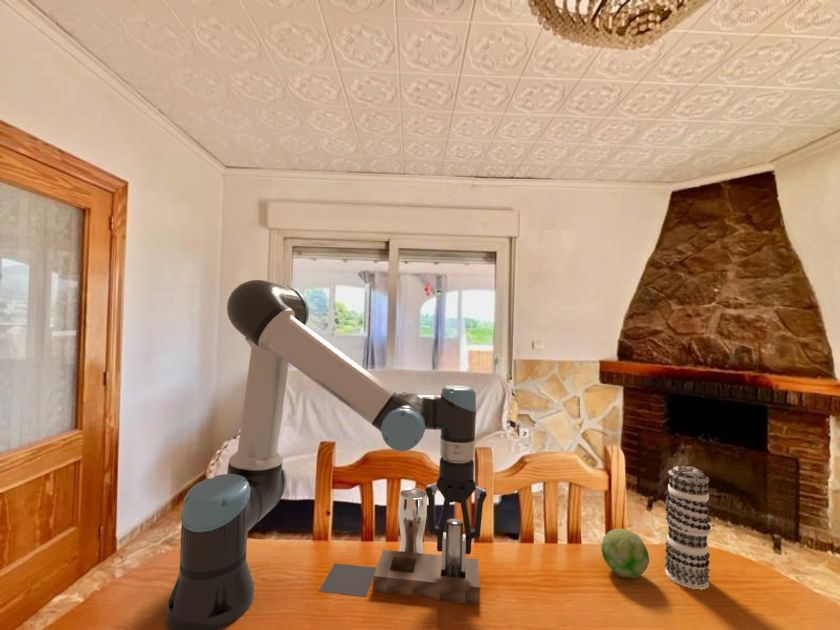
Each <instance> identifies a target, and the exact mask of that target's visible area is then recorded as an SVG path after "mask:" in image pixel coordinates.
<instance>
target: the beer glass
mask: <svg viewBox="0 0 840 630" xmlns="http://www.w3.org/2000/svg"><path fill="white" fill-rule="evenodd" d="M427 499H428V496H427V494H426V491H425V490H424V489H421V488H419V487H418V488H416V487H408V488H404V489H402V490H401V491H400V492H399V501H398V525H399V532H400V545H399V550H398V551H403V552H413V553H423V554H424V548H423V546H424V545H423V538H424V531H425V528H426V522H427V516H428V513H427V511H428V506H427V505H428V500H427Z"/></svg>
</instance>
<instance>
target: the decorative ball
mask: <svg viewBox="0 0 840 630" xmlns="http://www.w3.org/2000/svg"><path fill="white" fill-rule="evenodd" d="M601 541H602V542H601V547H600V549H601V550H600V551H601V553H602V558H603V561H604V562H605V563H606V565H607V566H608V568H609V569H610V570H611V571H612V572H614V573H615V574H616V575H618V576H620V577H621V578H624V579H625V578H627V579H628V578H629V579H636V578H638V577H641V576H643V573H645V571H646V570H647V568H648V566H649V564H650V558H649V557H650V556H649V552H648V548H647V547H646V545H645V543H644V541H643V540H642V538H641V537H640V536H639V535H638V534H636V533H635V532H632V531H631V530H628V529H625V528H614V529H612V530H609V531H608V532H607V533H606V534H605V536H603V538H602V540H601Z"/></svg>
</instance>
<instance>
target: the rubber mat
mask: <svg viewBox="0 0 840 630" xmlns="http://www.w3.org/2000/svg"><path fill="white" fill-rule="evenodd" d="M376 568H377V567H375V566H373V567H372V566H364V565H355V564H347V563H346V564H345V563H336V562H334V563H333V564H332V567H331V568H330V570H329V572H328V574H327V576H326V577H325V579H324V581H323V583H322V585H321V587H320V589H319V590H318V592H319V593H320V592H321V593H326V594H327V593H329V594H337V595H344V596H345V595H346V596H353V597H354V596H355V597H360V598H361V597H362V598H367V595H368V593H369V590H370V587H371V586H372V585H371V584H372V582H373V579H374V573H375V571H376Z"/></svg>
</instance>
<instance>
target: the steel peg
mask: <svg viewBox="0 0 840 630" xmlns="http://www.w3.org/2000/svg"><path fill="white" fill-rule="evenodd" d="M445 528H446V529H445V530H446V531H445V532H446V559H445V576H447V577H456V578H461V574H462V571H461V567H462V538H463V534H464V522H463V521H462V520H461V519H459V518H449V519H446V523H445Z"/></svg>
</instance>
